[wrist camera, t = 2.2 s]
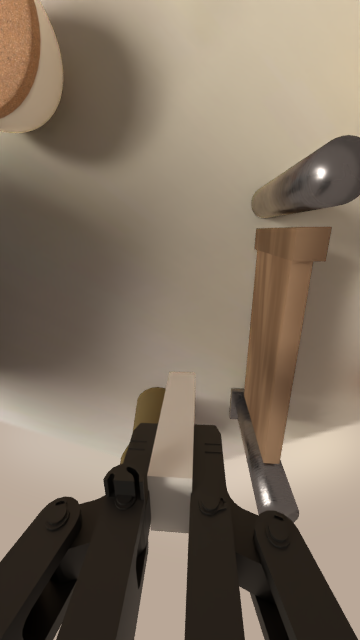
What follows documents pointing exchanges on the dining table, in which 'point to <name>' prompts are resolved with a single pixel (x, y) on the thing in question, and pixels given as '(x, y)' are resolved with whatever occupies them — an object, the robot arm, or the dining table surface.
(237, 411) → the gate frame
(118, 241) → the dining table surface
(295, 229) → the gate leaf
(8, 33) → the lidded jar
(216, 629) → the robot arm
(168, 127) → the dining table surface
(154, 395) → the cork
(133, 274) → the dining table surface
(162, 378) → the dining table surface
